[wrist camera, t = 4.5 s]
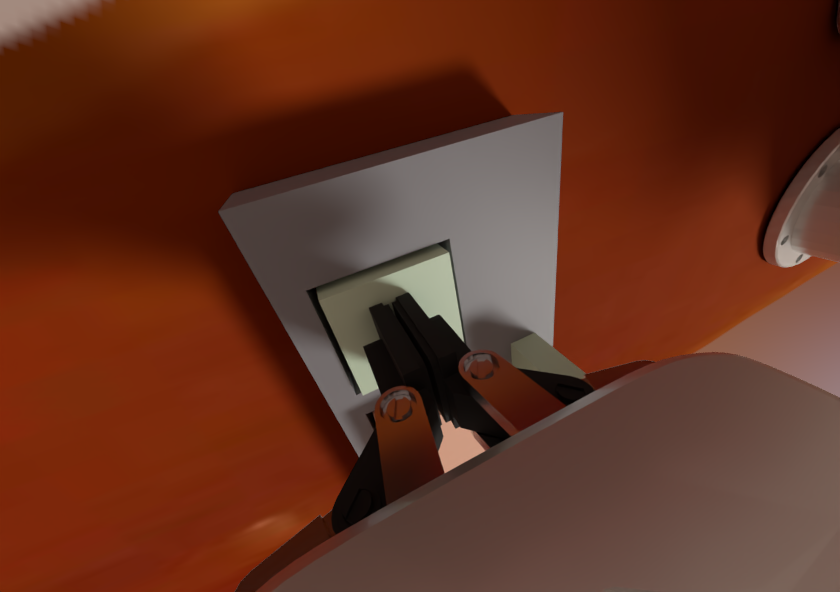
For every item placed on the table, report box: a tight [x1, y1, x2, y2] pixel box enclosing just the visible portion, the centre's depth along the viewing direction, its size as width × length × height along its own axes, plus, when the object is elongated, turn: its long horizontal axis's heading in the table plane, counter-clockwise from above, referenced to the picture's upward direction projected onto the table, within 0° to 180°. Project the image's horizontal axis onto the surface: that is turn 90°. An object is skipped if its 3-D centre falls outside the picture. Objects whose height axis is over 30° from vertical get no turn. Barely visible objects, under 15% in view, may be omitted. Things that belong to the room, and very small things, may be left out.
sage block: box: [316, 243, 464, 395], centre depth 14 cm, size 5×5×3 cm
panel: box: [218, 112, 586, 457], centre depth 16 cm, size 26×12×7 cm, turn 13°
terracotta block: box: [372, 410, 485, 473], centre depth 16 cm, size 5×5×3 cm
